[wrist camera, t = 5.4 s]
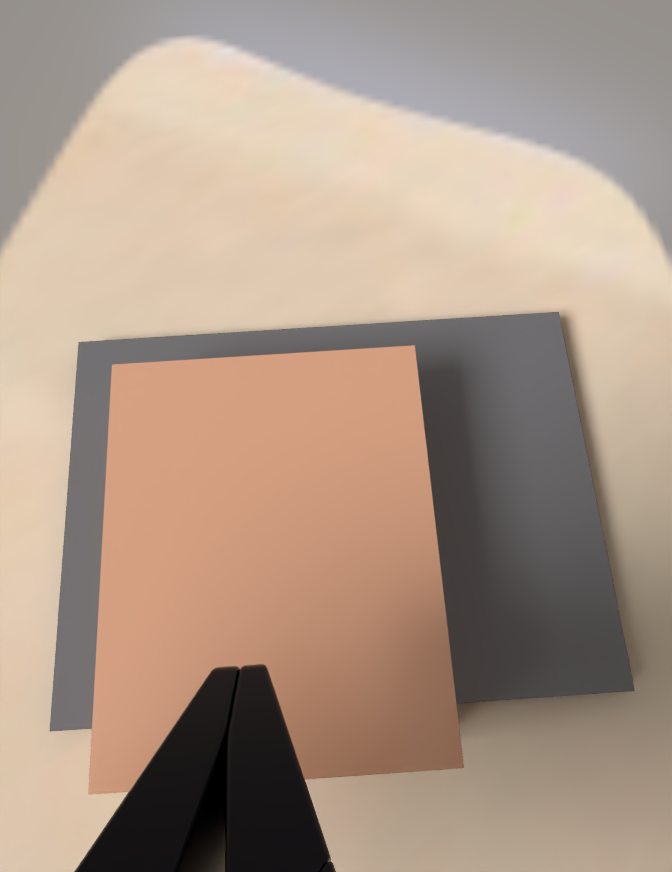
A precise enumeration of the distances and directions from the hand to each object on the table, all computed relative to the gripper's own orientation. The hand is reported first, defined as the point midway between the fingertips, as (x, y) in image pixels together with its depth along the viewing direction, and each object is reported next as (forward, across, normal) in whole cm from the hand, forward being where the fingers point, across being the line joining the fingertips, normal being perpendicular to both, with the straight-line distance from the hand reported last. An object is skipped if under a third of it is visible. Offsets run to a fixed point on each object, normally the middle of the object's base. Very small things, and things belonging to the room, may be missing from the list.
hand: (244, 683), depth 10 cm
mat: (+8, -2, +2) cm, 9 cm away
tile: (+2, 0, +5) cm, 6 cm away
